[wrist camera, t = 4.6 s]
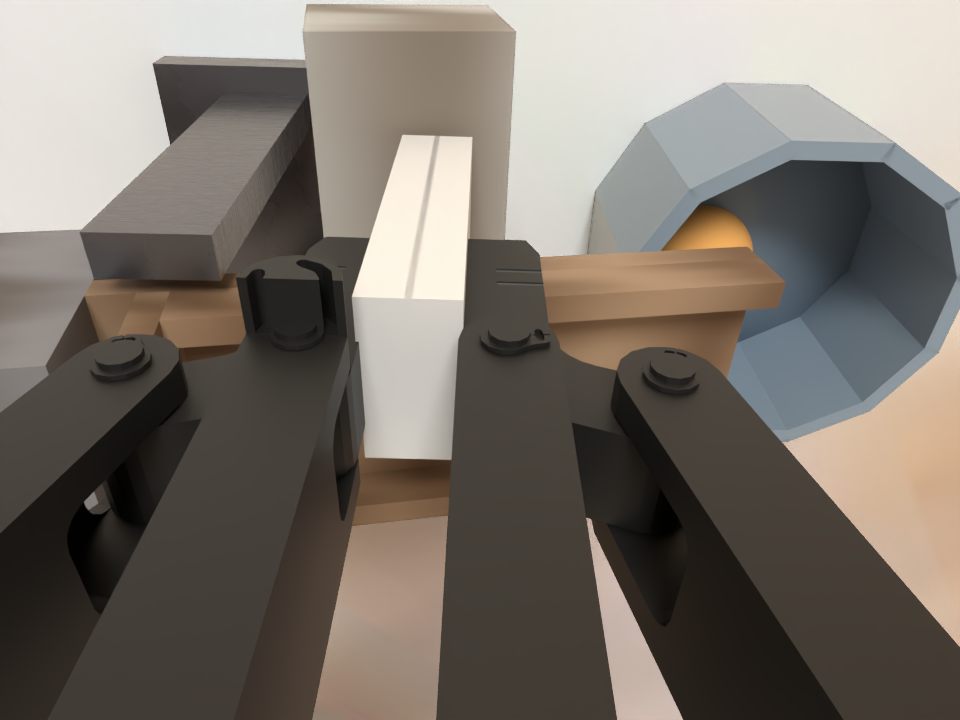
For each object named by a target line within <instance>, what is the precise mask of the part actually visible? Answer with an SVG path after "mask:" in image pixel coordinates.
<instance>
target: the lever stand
mask: <svg viewBox="0 0 960 720" xmlns="http://www.w3.org/2000/svg"><path fill="white" fill-rule="evenodd" d="M153 67H154V71H155V76H156V81H157V85H158V90H159V94H160V99H161V104H162V108H163V113H164V117H165V122H166V127H167V131H168V136H169V140H170V146H169V147H168V148H167V149H166V150H165V151H164V152H163V153H162V154H160V155H159V156H158V157H157V158H156V159H155V160H154V161H153V162H152V163H151V164H150V165H149V166H148V167H147V168H146V169H145V170H144V171H143V172H142V173H141V174H140V175H139V176H137V177H136V178H135V179H134V180H133V181H132V182H131V183H130V184H129V185H128V186H127V187H126V188H125V189H124V190H123V191H122V192H121V193H120V194H119V195H118V196H117V197H116V198H114V199H113V200H112V201H111V202H110V203H109V204H108V205H107V206H106V207H105V208H104V209H103V210H102V211H101V212H100V213H99V214H98V215H97V216H96V217H95V218H94V219H92V220H91V221H90V222H89V223H88V224H87V225H86V226H85V227H84V228H83V229H82V230H81V231H80V232H79V233H80V236H81V239H82V242H83V245H84V249H85V252H86V255H87V258H88V261H89V265H90V268H91V271H92V274H93V277H94V278H100V279H152V280H204V281H221V279H222V278H223V276H224V274H227V273H241V272H242V271H243V270H244V269H245V268H246V267H249V266H251V265H253V264H255V263H257V262H259V261H262V260H266V259H270V258H275V257H279V256H292V255H304V256H305V255H306V253H307V251H308V249H309V248H311V247H312V246H314V245H315V244H317V243H318V242H319V241H321V240H322V239H324V235H323V225H322V215H321V206H320V196H319V186H318V176H317V167H316V157H315V147H314V137H313V128H312V118H311V108H310V98H309V88H308V79H307V69H306V60H281V59H246V58H211V57H175V56H164V57H162V58H161V59H159V60H158V61H156V62H154V63H153Z"/></svg>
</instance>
